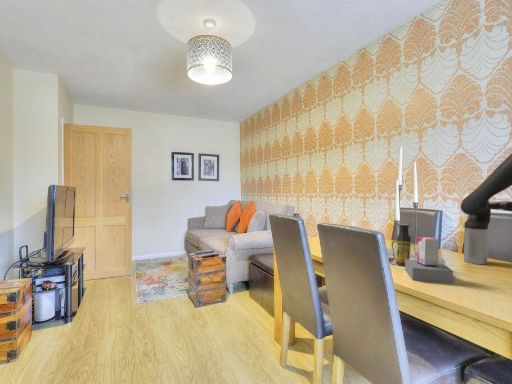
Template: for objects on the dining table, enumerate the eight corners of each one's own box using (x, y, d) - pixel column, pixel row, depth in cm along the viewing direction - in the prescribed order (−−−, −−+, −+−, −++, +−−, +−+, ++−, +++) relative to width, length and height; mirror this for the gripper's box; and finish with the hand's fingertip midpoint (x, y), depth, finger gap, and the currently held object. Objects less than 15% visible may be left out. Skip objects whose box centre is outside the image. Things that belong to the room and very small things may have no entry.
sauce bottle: (395, 265, 132) (395, 224, 132) (395, 262, 138) (395, 223, 137) (411, 267, 129) (411, 225, 129) (409, 263, 135) (410, 223, 135)
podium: (405, 270, 124) (405, 259, 124) (440, 273, 120) (440, 261, 120) (412, 280, 111) (412, 267, 111) (452, 283, 106) (453, 270, 106)
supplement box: (439, 266, 112) (439, 238, 112) (424, 266, 113) (424, 238, 113) (430, 262, 118) (430, 236, 118) (416, 262, 119) (416, 236, 118)
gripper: (519, 196, 117) (474, 196, 122) (543, 197, 103) (491, 197, 108) (519, 214, 117) (474, 213, 122) (543, 217, 103) (491, 216, 108)
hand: (482, 205), depth 115 cm, fingers open, 8 cm apart
